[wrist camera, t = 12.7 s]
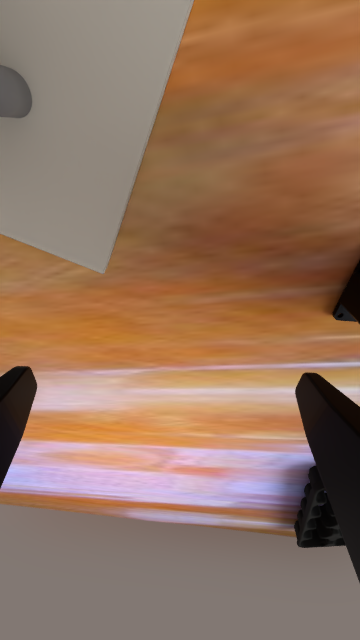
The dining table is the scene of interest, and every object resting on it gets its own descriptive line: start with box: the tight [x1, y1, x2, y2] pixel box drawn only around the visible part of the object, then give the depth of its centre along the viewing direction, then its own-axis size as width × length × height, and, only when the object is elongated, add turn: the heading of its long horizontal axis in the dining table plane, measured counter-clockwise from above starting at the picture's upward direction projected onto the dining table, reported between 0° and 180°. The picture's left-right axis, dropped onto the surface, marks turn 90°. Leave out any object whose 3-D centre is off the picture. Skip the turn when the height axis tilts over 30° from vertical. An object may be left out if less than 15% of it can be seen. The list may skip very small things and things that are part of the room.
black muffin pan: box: [294, 465, 346, 548], centre depth 45 cm, size 18×30×4 cm, turn 22°
